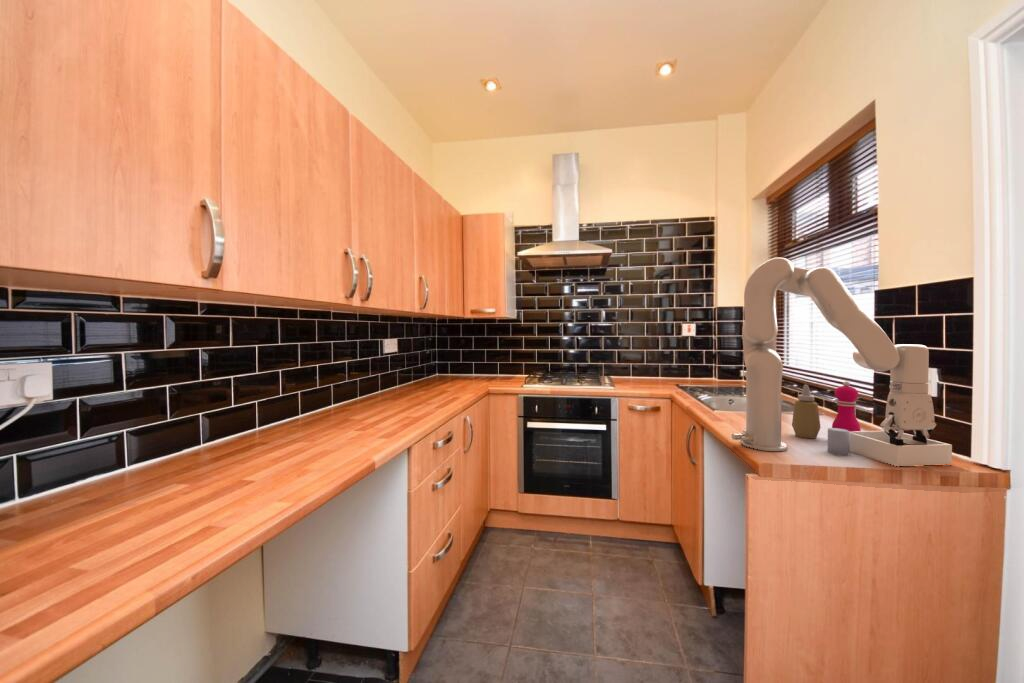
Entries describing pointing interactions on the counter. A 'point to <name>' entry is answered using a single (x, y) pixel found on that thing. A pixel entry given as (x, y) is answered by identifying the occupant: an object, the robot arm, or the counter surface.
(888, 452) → the tray
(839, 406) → the pepper mill
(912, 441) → the walnut cube
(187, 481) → the counter surface
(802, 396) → the squeeze bottle
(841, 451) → the grey upright block
